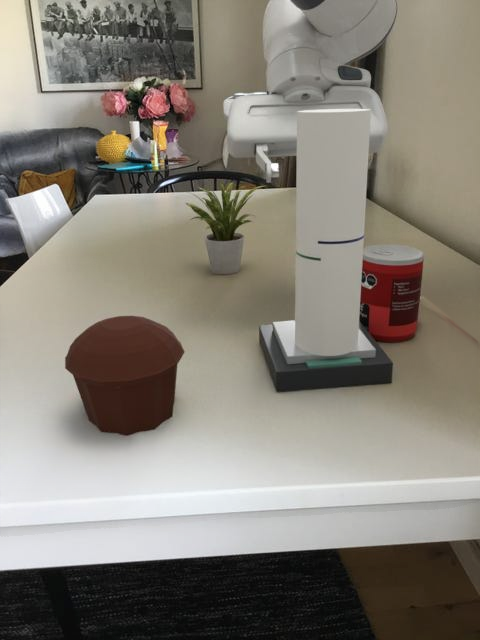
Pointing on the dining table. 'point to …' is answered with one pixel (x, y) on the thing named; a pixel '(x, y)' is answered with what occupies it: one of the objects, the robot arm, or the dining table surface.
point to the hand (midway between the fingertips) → (311, 178)
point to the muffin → (126, 373)
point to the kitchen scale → (321, 361)
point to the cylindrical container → (330, 227)
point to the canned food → (390, 291)
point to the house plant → (223, 229)
